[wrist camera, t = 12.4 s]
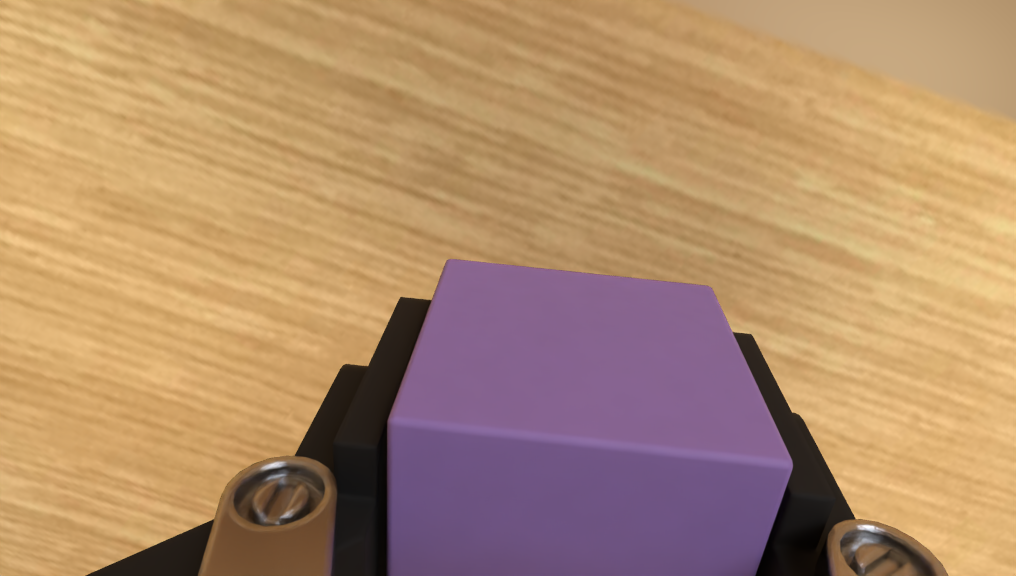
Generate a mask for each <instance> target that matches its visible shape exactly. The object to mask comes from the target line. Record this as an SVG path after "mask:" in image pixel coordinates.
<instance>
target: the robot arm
mask: <svg viewBox="0 0 1016 576" xmlns="http://www.w3.org/2000/svg"><path fill="white" fill-rule="evenodd" d="M431 301H432V300H424V299H415V298H405V297H400V299H399V301H398V303H397V305H396V307H395V310H394V312H393V314H392V316H391V318H390V320H389V322H388V325H387V327H386V329H385V331H384V333H383V335H382V338H381V340H380V342H379V344H378V346H377V348H376V351H375V353H374V355H373V357H372V359H371V361H370V363H369V366H359V365H350V364H345V365H343V366H342V368H341V369H340V371H339V373H338V374H337V376H336V378H335V380H334V382H333V384H332V386H331V388H330V390H329V392H328V393H327V395H326V397H325V399H324V401H323V403H322V405H321V407H320V409H319V410H318V412H317V414H316V416H315V418H314V420H313V422H312V424H311V426H310V428H309V429H308V431H307V433H306V435H305V437H304V439H303V441H302V443H301V445H300V446H299V448H298V450H297V452H296V454H295V456H282V457H275V458H269V459H266V460H263V461H260V462H257V463H254V464H252V465H251V466H249V467H247V468H246V469H244V470H242V471H240V472H239V473H238V474H237V475H236V476H235V477H234V478H233V479H232V480H231V481H230V482H229V483H228V484H227V486H226V488H225V490H224V491H223V493H222V495H221V498H220V502H219V505H218V509H217V512H216V515H215V519H214V520H211V521H209V522H207V523H204V524H202V525H200V526H198V527H195V528H193V529H191V530H189V531H186V532H184V533H182V534H179V535H177V536H175V537H173V538H170V539H168V540H166V541H163V542H161V543H159V544H157V545H154V546H152V547H150V548H148V549H145V550H143V551H141V552H138V553H136V554H134V555H132V556H129V557H127V558H125V559H122V560H120V561H118V562H116V563H113V564H111V565H109V566H107V567H104V568H102V569H100V570H97V571H95V572H93V573H91V574H88V575H86V576H386V551H387V420H388V418H389V415H390V412H391V410H392V407H393V404H394V401H395V399H396V396H397V393H398V391H399V388H400V385H401V382H402V380H403V377H404V374H405V372H406V369H407V366H408V363H409V361H410V358H411V355H412V353H413V350H414V347H415V344H416V342H417V339H418V336H419V333H420V331H421V328H422V325H423V323H424V320H425V317H426V314H427V312H428V309H429V306H430V304H431ZM733 334H734V337H735V339H736V341H737V343H738V345H739V347H740V350H741V352H742V354H743V356H744V358H745V360H746V362H747V365H748V367H749V369H750V371H751V373H752V375H753V378H754V380H755V382H756V384H757V386H758V388H759V390H760V393H761V395H762V397H763V399H764V401H765V403H766V405H767V408H768V410H769V412H770V414H771V416H772V418H773V421H774V423H775V425H776V427H777V429H778V431H779V433H780V436H781V438H782V440H783V442H784V444H785V446H786V448H787V451H788V453H789V455H790V457H791V459H792V463H793V468H792V472H791V475H790V478H789V480H788V483H787V486H786V489H785V492H784V495H783V498H782V500H781V503H780V506H779V509H778V512H777V515H776V518H775V520H774V523H773V526H772V529H771V532H770V535H769V538H768V540H767V543H766V546H765V549H764V552H763V555H762V558H761V560H760V563H759V566H758V569H757V572H756V575H755V576H948V574H947V572H946V570H945V569H944V567H943V565H942V564H941V563H940V561H939V560H938V559H937V558H936V557H935V556H934V555H933V554H932V553H931V552H930V550H928V549H927V548H926V547H924V546H923V545H922V544H920V543H919V542H918V541H917V540H915V539H914V538H912V537H911V536H909V535H907V534H905V533H903V532H901V531H899V530H898V529H896V528H893V527H890V526H888V525H885V524H882V523H879V522H875V521H869V520H863V519H855V517H854V515H853V513H852V511H851V509H850V507H849V506H848V504H847V502H846V500H845V498H844V496H843V494H842V492H841V490H840V489H839V487H838V485H837V483H836V481H835V479H834V477H833V475H832V473H831V472H830V470H829V468H828V466H827V464H826V462H825V460H824V458H823V456H822V454H821V453H820V451H819V449H818V447H817V445H816V443H815V441H814V439H813V437H812V436H811V434H810V432H809V430H808V428H807V426H806V424H805V422H804V421H803V419H802V418H801V417H800V415H798V414H796V413H792V412H791V410H790V408H789V406H788V404H787V402H786V400H785V398H784V396H783V394H782V392H781V390H780V388H779V386H778V384H777V382H776V381H775V379H774V377H773V375H772V373H771V371H770V369H769V367H768V365H767V363H766V361H765V359H764V357H763V355H762V353H761V351H760V349H759V347H758V345H757V343H756V341H755V339H754V338H753V336H752V335H751V334H744V333H735V332H733Z"/></svg>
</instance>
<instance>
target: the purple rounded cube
mask: <svg viewBox="0 0 1016 576" xmlns="http://www.w3.org/2000/svg"><path fill="white" fill-rule="evenodd" d="M792 468H793V463H792V459H791V457H790V455H789V453H788V451H787V448H786V446H785V444H784V442H783V440H782V438H781V436H780V433H779V431H778V429H777V427H776V425H775V423H774V421H773V418H772V416H771V414H770V412H769V410H768V408H767V405H766V403H765V401H764V399H763V397H762V395H761V393H760V390H759V388H758V386H757V384H756V382H755V380H754V378H753V375H752V373H751V371H750V369H749V367H748V365H747V362H746V360H745V358H744V356H743V354H742V352H741V350H740V347H739V345H738V343H737V341H736V339H735V337H734V334H733V332H732V330H731V328H730V326H729V324H728V322H727V319H726V317H725V315H724V313H723V311H722V309H721V307H720V304H719V302H718V300H717V298H716V296H715V294H714V291H713V289H712V288H711V287H709V286H705V285H696V284H686V283H676V282H667V281H657V280H648V279H638V278H629V277H619V276H610V275H600V274H591V273H581V272H572V271H562V270H552V269H543V268H533V267H524V266H514V265H505V264H495V263H486V262H476V261H467V260H457V259H449V260H447V261H446V263H445V266H444V268H443V271H442V274H441V276H440V279H439V282H438V285H437V287H436V290H435V293H434V295H433V298H432V301H431V304H430V306H429V309H428V312H427V314H426V317H425V320H424V323H423V325H422V328H421V331H420V333H419V336H418V339H417V342H416V344H415V347H414V350H413V353H412V355H411V358H410V361H409V363H408V366H407V369H406V372H405V374H404V377H403V380H402V382H401V385H400V388H399V391H398V393H397V396H396V399H395V401H394V404H393V407H392V410H391V412H390V415H389V418H388V420H387V551H386V576H755V575H756V572H757V569H758V566H759V563H760V560H761V558H762V555H763V552H764V549H765V546H766V543H767V540H768V538H769V535H770V532H771V529H772V526H773V523H774V520H775V518H776V515H777V512H778V509H779V506H780V503H781V500H782V498H783V495H784V492H785V489H786V486H787V483H788V480H789V478H790V475H791V472H792Z"/></svg>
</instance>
